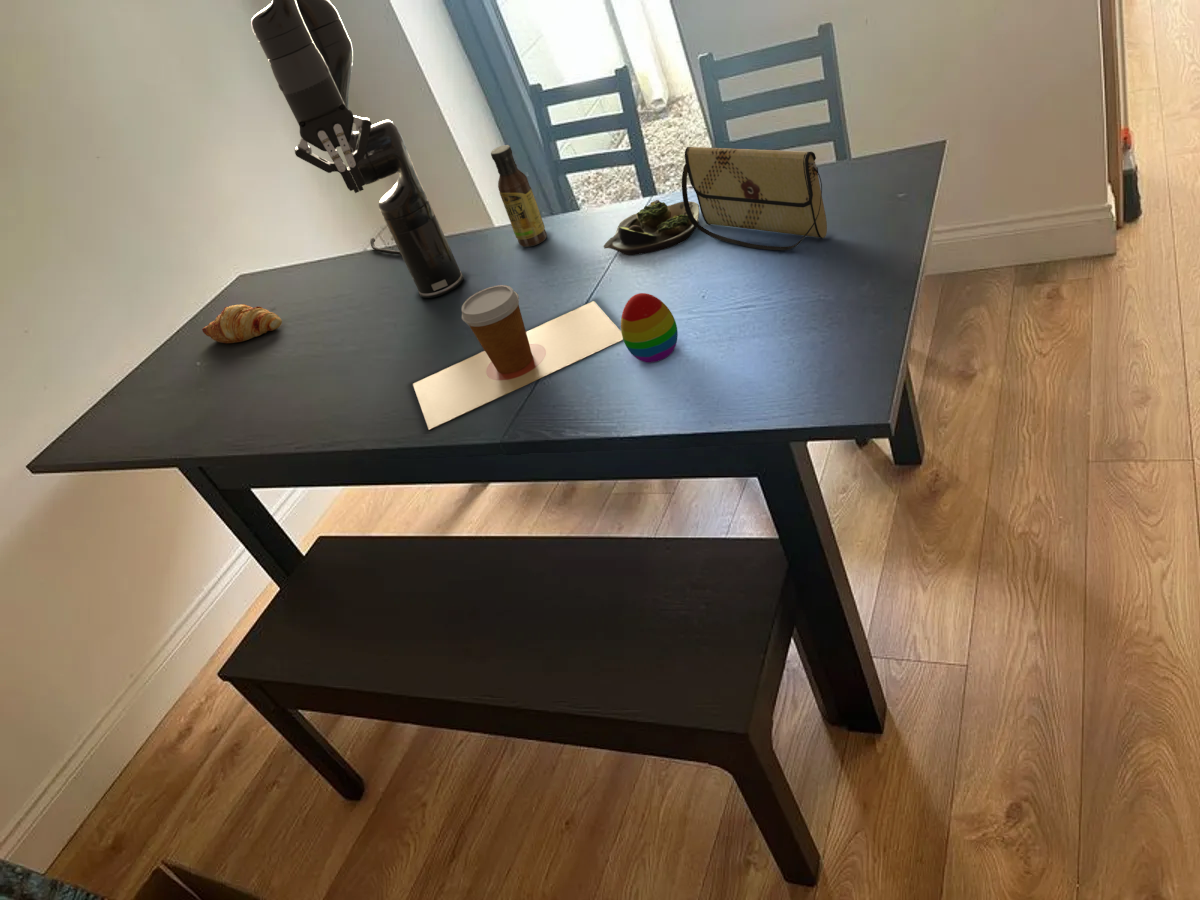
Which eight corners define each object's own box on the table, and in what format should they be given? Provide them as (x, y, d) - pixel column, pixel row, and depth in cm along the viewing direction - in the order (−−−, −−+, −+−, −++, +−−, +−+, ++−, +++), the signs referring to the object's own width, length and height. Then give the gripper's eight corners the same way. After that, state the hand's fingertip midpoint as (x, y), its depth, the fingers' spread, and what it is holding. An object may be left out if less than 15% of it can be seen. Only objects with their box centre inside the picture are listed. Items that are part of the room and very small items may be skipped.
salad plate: (619, 217, 188) (612, 196, 186) (706, 197, 182) (700, 175, 180) (602, 263, 174) (595, 241, 171) (696, 243, 168) (690, 219, 165)
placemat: (412, 384, 159) (412, 383, 159) (593, 301, 162) (593, 300, 162) (429, 430, 145) (428, 429, 145) (626, 338, 148) (626, 337, 148)
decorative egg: (675, 331, 145) (658, 274, 140) (688, 355, 138) (670, 296, 133) (626, 349, 146) (606, 294, 140) (636, 374, 139) (616, 317, 133)
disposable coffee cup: (537, 372, 149) (510, 307, 142) (482, 385, 151) (452, 321, 144) (545, 341, 156) (520, 277, 149) (493, 353, 158) (465, 292, 152)
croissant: (299, 334, 202) (292, 296, 201) (267, 338, 193) (259, 299, 192) (223, 344, 211) (216, 309, 209) (189, 349, 201) (181, 311, 200)
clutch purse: (683, 238, 171) (660, 160, 163) (708, 220, 174) (687, 142, 166) (816, 257, 150) (798, 168, 141) (842, 235, 153) (825, 147, 144)
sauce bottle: (513, 248, 193) (477, 156, 182) (533, 233, 196) (498, 142, 185) (535, 249, 189) (499, 155, 178) (555, 234, 192) (520, 141, 181)
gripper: (345, 60, 142) (394, 168, 152) (263, 95, 141) (318, 201, 151) (349, 67, 136) (400, 179, 146) (264, 103, 135) (321, 213, 145)
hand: (358, 190), depth 148 cm, fingers closed
